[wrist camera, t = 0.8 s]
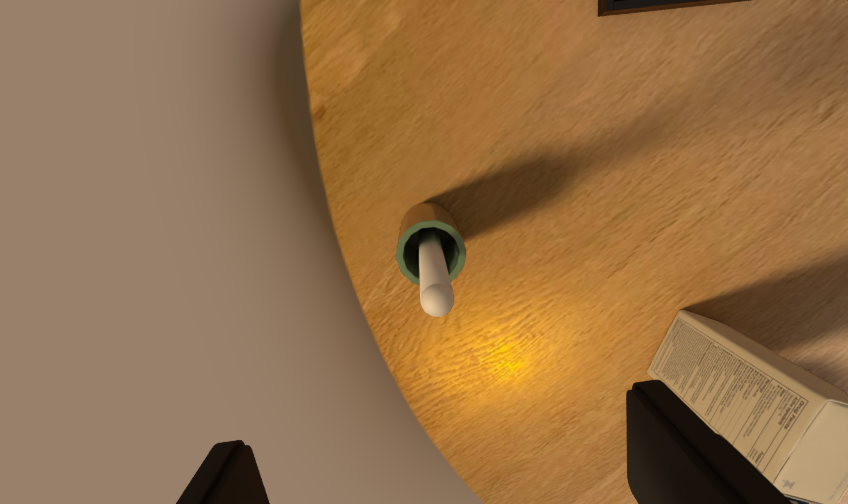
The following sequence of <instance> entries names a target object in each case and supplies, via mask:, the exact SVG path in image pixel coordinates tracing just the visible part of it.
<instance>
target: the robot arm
mask: <svg viewBox="0 0 848 504" xmlns="http://www.w3.org/2000/svg"><path fill="white" fill-rule="evenodd" d="M626 411H627V479H628V484H629V487H630V489H631V492H632V494H633V495H634V497H635V499H636V500H637V502H638V504H793V503H792V502H791V501H790V500H789V499H788V498H787V497H785V496H784V495H783V494H782V493H781V492H780V491H779V490H778V489H777V488H776V487H775V486H774V485H773V484H772V483H771V482H770V481H769V480H768V479H767V478H766V477H765V476H764V475H763V474H762V473H761V472H759V471H758V470H757V469H756V468H755V467H754V466H753V465H752V464H751V463H750V462H749V461H748V460H747V459H746V458H745V457H744V456H743V455H742V454H741V453H740V452H739V451H738V450H737V449H736V448H735V447H733V446H732V445H731V444H730V443H729V442H728V441H727V440H726V439H725V438H724V437H722V436H721V435H719V434H717V433H715V432H714V431H713V430H712V429H711V428H710V427H709V426H708V425H707V424H706V423H705V422H704V421H703V420H702V419H701V418H700V417H699V416H698V415H696V414H695V413H694V412H693V411H692V410H691V409H690V408H689V407H688V406H687V405H686V404H685V403H684V402H683V401H682V400H681V399H680V398H679V397H678V396H677V395H676V394H675V393H674V392H673V391H672V390H671V389H670V388H669V387H668V386H667V385H666V384H665V383H664V382H662V381H661V380H658V379H657V380H650V381H643V382H636V383H634V384H633V386H632V390H628V391H627V394H626ZM176 504H270V503H269V500H268V497H267V494H266V491H265V488H264V485H263V482H262V479H261V476H260V473H259V470H258V466H257V464H256V460H255V457H254V454H253V451H252V449H251V447H250V446H249V445H245V444H244V442H243V441H242V440H236V441H229V442H222V443H217V444H215V445H214V446H213V448H212V449H211V451H210V452H209V454H208V455H207V457H206V458H205V460H204V461H203V463H202V464H201V466H200V467H199V469H198V471H197V472H196V474H195V475H194V477H193V478H192V480H191V481H190V483H189V484H188V486H187V487H186V489H185V490H184V492H183V494H182V495H181V497H180V498H179V500H178V501H177V503H176Z"/></svg>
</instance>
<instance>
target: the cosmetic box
mask: <svg viewBox="0 0 848 504" xmlns="http://www.w3.org/2000/svg"><path fill="white" fill-rule="evenodd" d="M647 373H648V374H649V375H650V376H651V377H652V378H653V379H654V380H657V379H658V380H661V381H662V382H664V383H665V384H666V385H667V386H668V387H669V388H670V389H671V390H672V391H673V392H674V393H675V394H676V395H677V396H678V397H679V398H680V399H681V400H682V401H683V402H684V403H685V404H686V405H687V406H688V407H689V408H690V409H691V410H692V411H693V412H694V413H695V414H696V415H698V416H699V417H700V418H701V419H702V420H703V421H704V422H705V423H706V424H707V425H708V426H709V427H710V428H711V429H712V430H713V431H714V432H715V433H717V434H719V435H721V436H722V437H724V438H725V439H726V440H727V441H728V442H729V443H730V444H731V445H732V446H733V447H735V448H736V449H737V450H738V451H739V452H740V453H741V454H742V455H743V456H744V457H745V458H746V459H747V460H748V461H749V462H750V463H751V464H752V465H753V466H754V467H755V468H756V469H757V470H758V471H759V472H761V473H762V474H763V475H764V476H765V477H766V478H767V479H768V480H769V481H770V482H771V483H772V484H773V485H774V486H775V487H776V488H777V489H778V490H779V491H780V492H781V493H782V494H783V495H784V496H787V497H790V498H793V499H797V500H801V501H804V502H807V503H811V504H838V502H839V501H840V500H841V498H842V497H843V496H844V494H845V493H846V492H847V490H848V393H846V392H844V391H842V390H841V389H839V388H837V387H835V386H834V385H832V384H830V383H828V382H827V381H825V380H823V379H821V378H819V377H818V376H816V375H814V374H812V373H811V372H809V371H807V370H805V369H803V368H802V367H800V366H798V365H796V364H795V363H793V362H791V361H789V360H787V359H786V358H784V357H782V356H780V355H779V354H777V353H775V352H773V351H772V350H770V349H768V348H766V347H765V346H763V345H761V344H759V343H758V342H756V341H754V340H752V339H751V338H749V337H747V336H745V335H744V334H742V333H740V332H738V331H737V330H735V329H733V328H731V327H730V326H728V325H726V324H724V323H721V322H718V321H715V320H713V319H710V318H707V317H704V316H701V315H698V314H695V313H692V312H689V311H685V310H679V312H678V314H677V315H676V317H675V319H674V321H673V322H672V324H671V326H670V328H669V330H668V332H667V333H666V335H665V337H664V339H663V341H662V343H661V345H660V347H659V349H658V350H657V352H656V354H655V356H654V358H653V360H652V362H651V364H650V366H649V368H648V370H647Z"/></svg>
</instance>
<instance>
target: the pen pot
mask: <svg viewBox="0 0 848 504" xmlns="http://www.w3.org/2000/svg"><path fill="white" fill-rule="evenodd" d="M429 227H436V228H437V230H438V234H439V238H440V242H441V246H442V250H443V254H444V258H445V262H446V266H447V270H448V274H449V278H450V281H452V280H453V279H455V278H456V277H457V275H458V274H459V272H460V271H461V270H462V268H463V267H464V263H465V257H466V248H465V245H464V242H463V239H462V236H461V234H460V232H459V230H458V228H457V226H456V224H455V222H454V220H453V218H452V216H451V215H450V213H449V212H448V211H447V210H446V209H445V208H443V207H442V206H440V205H438V204H435V203H421V204H418V205H416V206H414V207H412V208H411V209H410V210H409V211H408V212H407V213H406V214H405V216H404V218H403V220H402V222H401V227H400V232H399V238H398V243H397V252H396V260H397V263H398V265H399V268H400V271H401V272H402V274H403V275H404V276H406V277H407V278H408V279H409V280H410V281H411V282H412V283H414V284H417V285H420V270H419V237H418V231H419V230H420V229H422V228H429Z"/></svg>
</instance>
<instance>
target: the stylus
mask: <svg viewBox="0 0 848 504" xmlns="http://www.w3.org/2000/svg"><path fill="white" fill-rule="evenodd" d="M418 237H419V270H420V302H421V306H422V308H423V309H424V311H425V312H426V313H427V314H429V315H431V316H434V317H440V316H444V315H446V314H447V313H449V312H450V310H451V309H452V307H453V305H454V294H453V290H452V286H451V282H450V278H449V274H448V270H447V266H446V262H445V258H444V254H443V250H442V246H441V242H440V238H439V234H438V230H437V228H436V227H429V228H422V229H420V230H419V231H418Z"/></svg>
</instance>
